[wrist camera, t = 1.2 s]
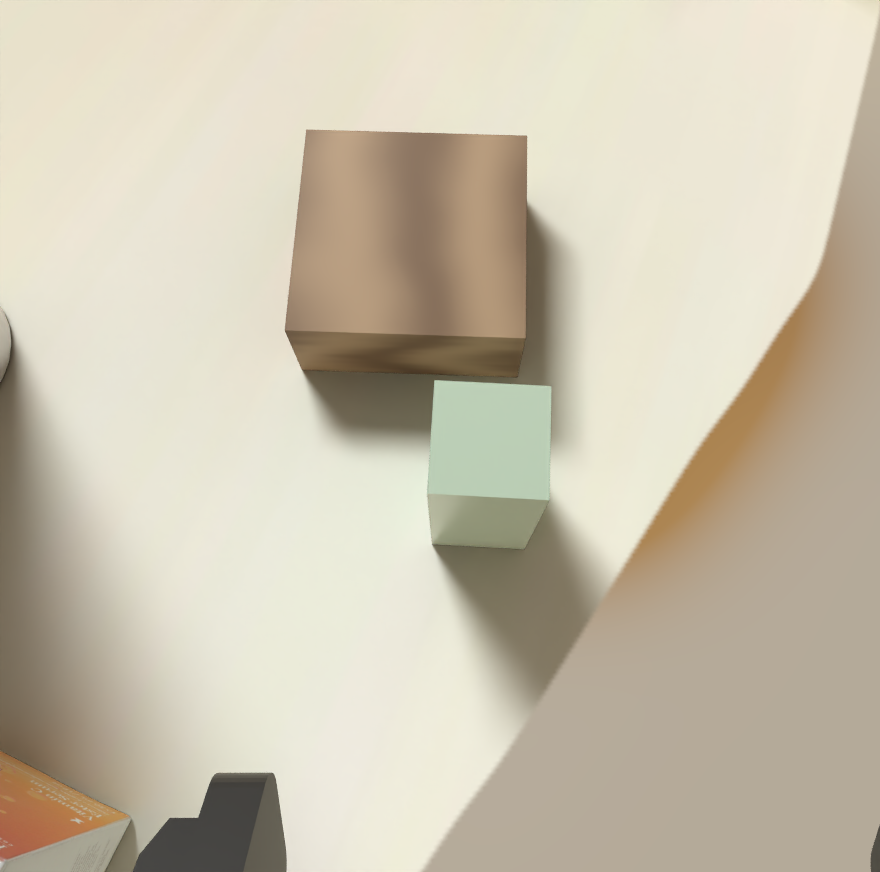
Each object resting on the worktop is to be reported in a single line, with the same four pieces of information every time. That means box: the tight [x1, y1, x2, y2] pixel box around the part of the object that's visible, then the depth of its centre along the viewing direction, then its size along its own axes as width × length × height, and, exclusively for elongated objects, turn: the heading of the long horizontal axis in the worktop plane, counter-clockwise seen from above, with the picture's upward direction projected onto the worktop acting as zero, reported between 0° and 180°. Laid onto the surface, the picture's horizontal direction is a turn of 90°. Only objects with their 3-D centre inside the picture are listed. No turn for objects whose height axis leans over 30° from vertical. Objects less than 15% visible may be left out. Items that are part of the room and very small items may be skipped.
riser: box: [285, 130, 527, 377], centre depth 41 cm, size 11×11×5 cm
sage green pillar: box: [427, 380, 551, 549], centre depth 35 cm, size 4×4×10 cm
